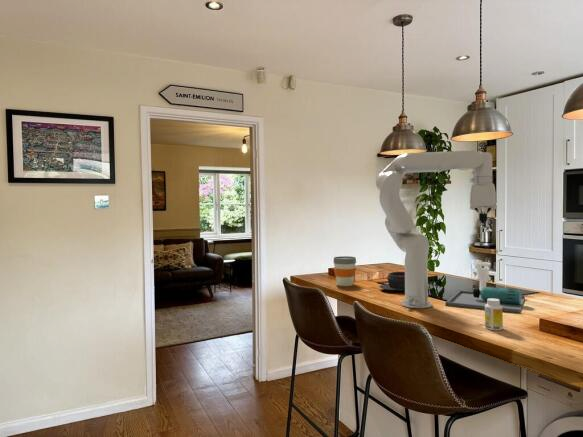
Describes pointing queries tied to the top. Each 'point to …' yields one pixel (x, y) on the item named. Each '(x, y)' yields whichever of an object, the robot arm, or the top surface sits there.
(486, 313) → the supplement bottle
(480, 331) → the top surface
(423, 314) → the top surface
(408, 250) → the robot arm
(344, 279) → the reusable coffee cup
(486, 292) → the beverage bottle
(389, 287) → the cup and saucer
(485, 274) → the white tall piece
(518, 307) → the grey square tray
